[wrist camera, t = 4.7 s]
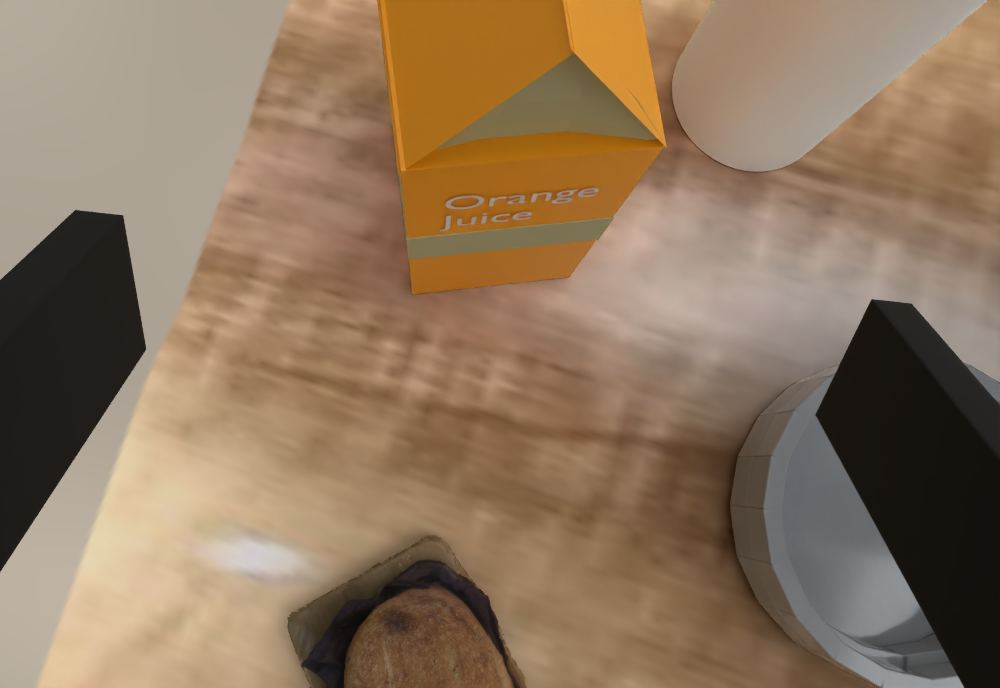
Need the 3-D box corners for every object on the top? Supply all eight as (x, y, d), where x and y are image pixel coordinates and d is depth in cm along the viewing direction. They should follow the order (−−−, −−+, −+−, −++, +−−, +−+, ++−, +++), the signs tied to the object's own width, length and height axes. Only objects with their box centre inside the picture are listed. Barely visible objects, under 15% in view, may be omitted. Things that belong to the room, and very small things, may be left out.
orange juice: (409, 296, 35) (384, 68, 15) (388, 119, 36) (339, -304, 16) (573, 278, 36) (753, 40, 16) (546, 106, 37) (681, -310, 17)
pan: (925, 322, 37) (984, 305, 33) (1061, 591, 35) (1141, 606, 31) (677, 434, 35) (708, 430, 31) (810, 726, 33) (862, 760, 29)
